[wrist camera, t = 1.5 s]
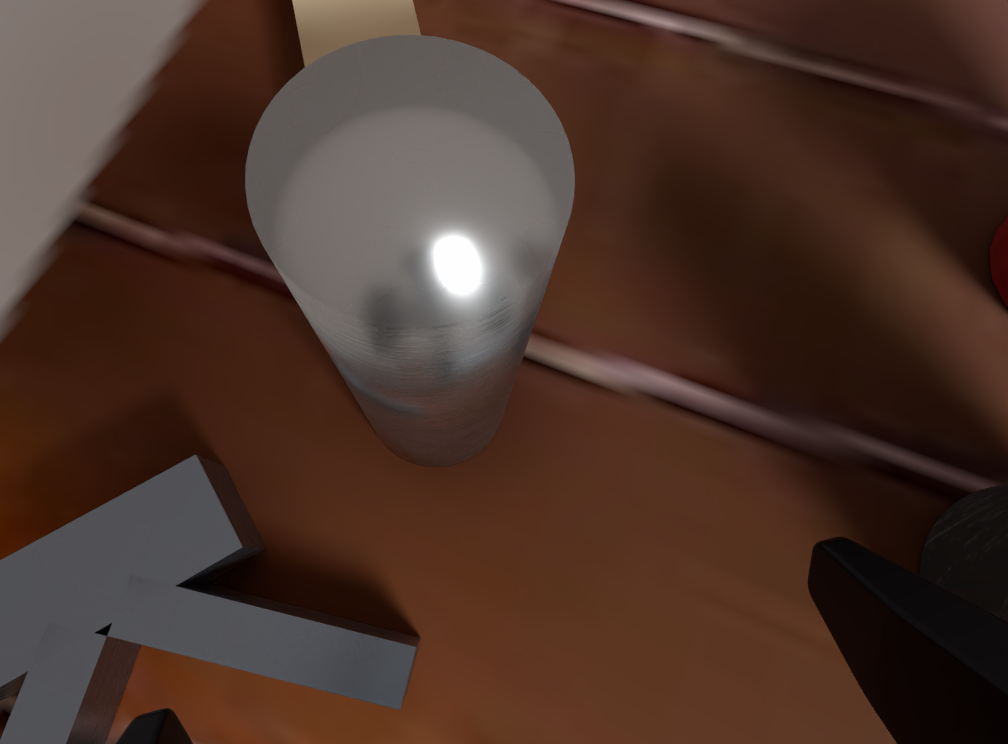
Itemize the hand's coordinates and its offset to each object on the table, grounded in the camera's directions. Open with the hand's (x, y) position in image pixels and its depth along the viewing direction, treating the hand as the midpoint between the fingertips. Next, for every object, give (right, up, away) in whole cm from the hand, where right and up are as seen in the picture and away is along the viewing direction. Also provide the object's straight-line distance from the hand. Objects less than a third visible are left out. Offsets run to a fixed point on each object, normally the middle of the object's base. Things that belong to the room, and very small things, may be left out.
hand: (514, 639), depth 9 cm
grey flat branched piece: (-10, -5, +11) cm, 16 cm away
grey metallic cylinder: (-2, +3, +14) cm, 14 cm away
